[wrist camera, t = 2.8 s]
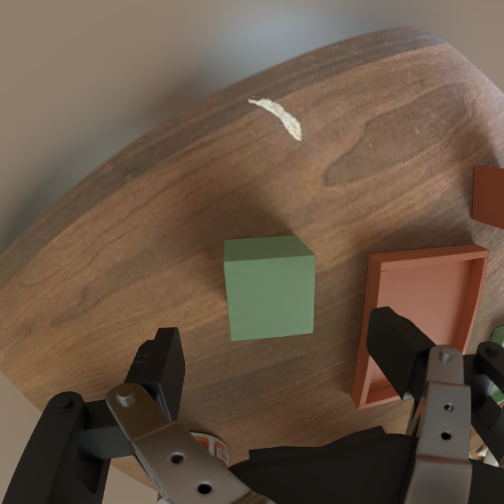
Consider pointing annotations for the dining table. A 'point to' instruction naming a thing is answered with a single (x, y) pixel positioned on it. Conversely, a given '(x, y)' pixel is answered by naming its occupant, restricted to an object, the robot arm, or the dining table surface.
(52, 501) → the robot arm
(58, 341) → the dining table surface
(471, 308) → the terracotta tray
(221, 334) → the dining table surface
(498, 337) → the sage tray
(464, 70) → the dining table surface
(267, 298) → the sage block
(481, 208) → the terracotta block
